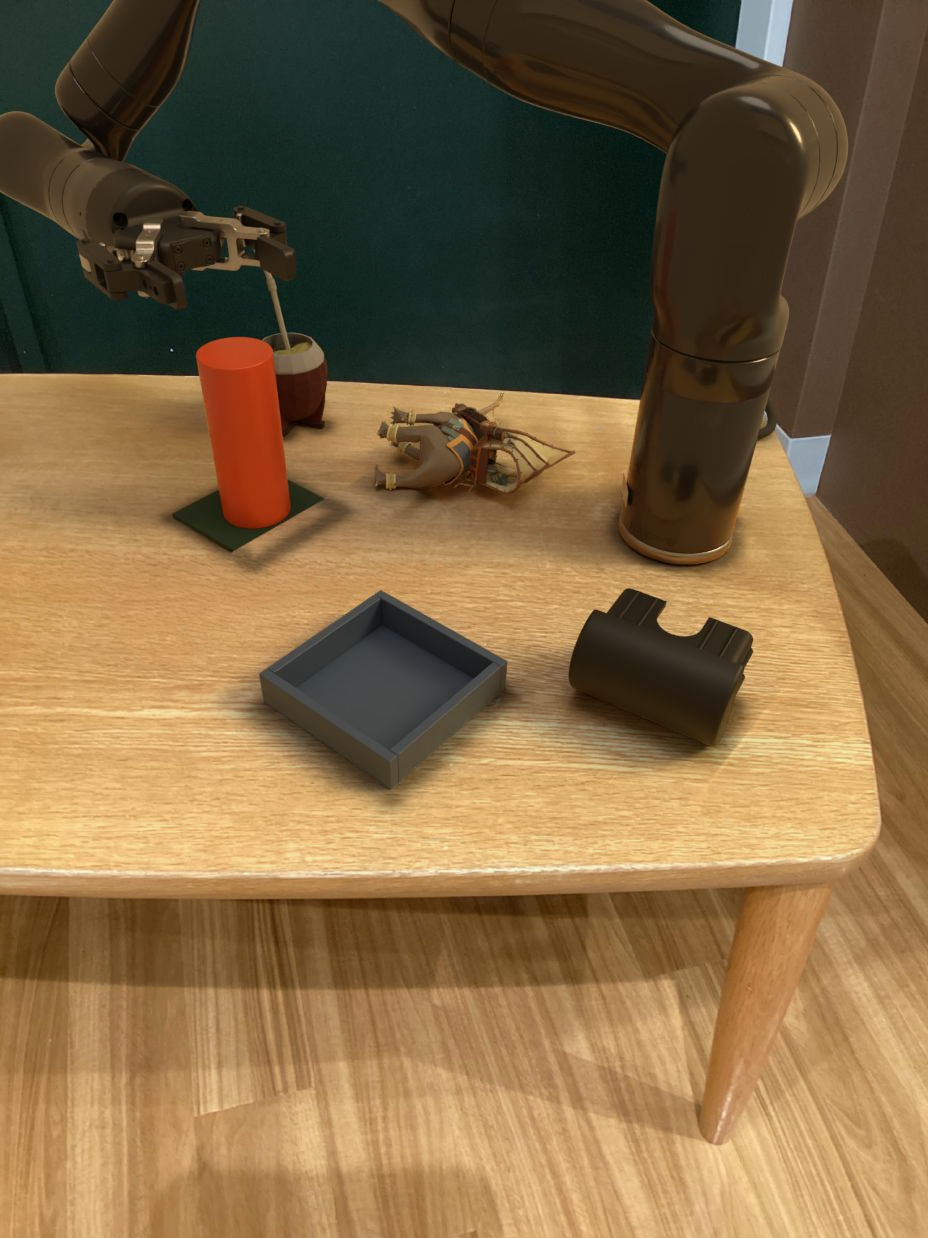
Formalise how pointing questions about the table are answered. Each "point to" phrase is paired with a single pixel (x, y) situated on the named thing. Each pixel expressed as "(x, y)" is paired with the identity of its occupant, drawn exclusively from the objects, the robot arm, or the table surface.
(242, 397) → the tube
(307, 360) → the mate gourd
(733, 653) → the end cap
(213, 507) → the mat
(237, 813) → the table surface
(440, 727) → the dark grey square tray
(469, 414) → the figurine
